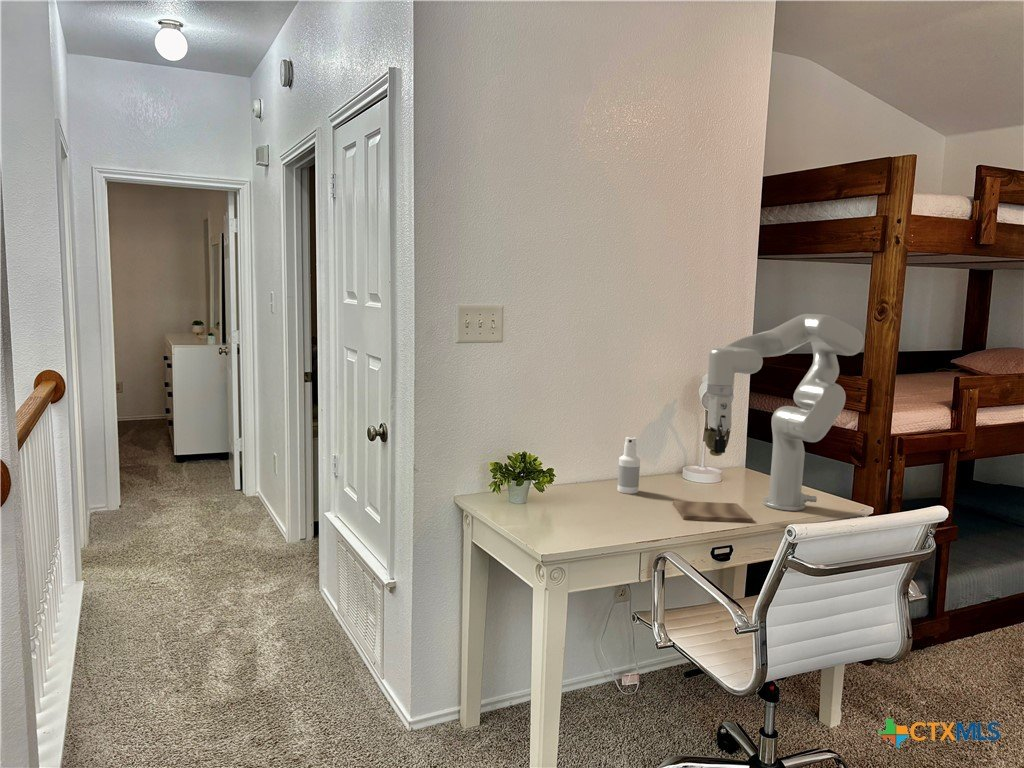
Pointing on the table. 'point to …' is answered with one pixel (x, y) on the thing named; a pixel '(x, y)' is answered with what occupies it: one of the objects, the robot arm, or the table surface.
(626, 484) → the spray bottle
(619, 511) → the table surface
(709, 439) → the cup
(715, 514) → the walnut board
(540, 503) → the table surface
